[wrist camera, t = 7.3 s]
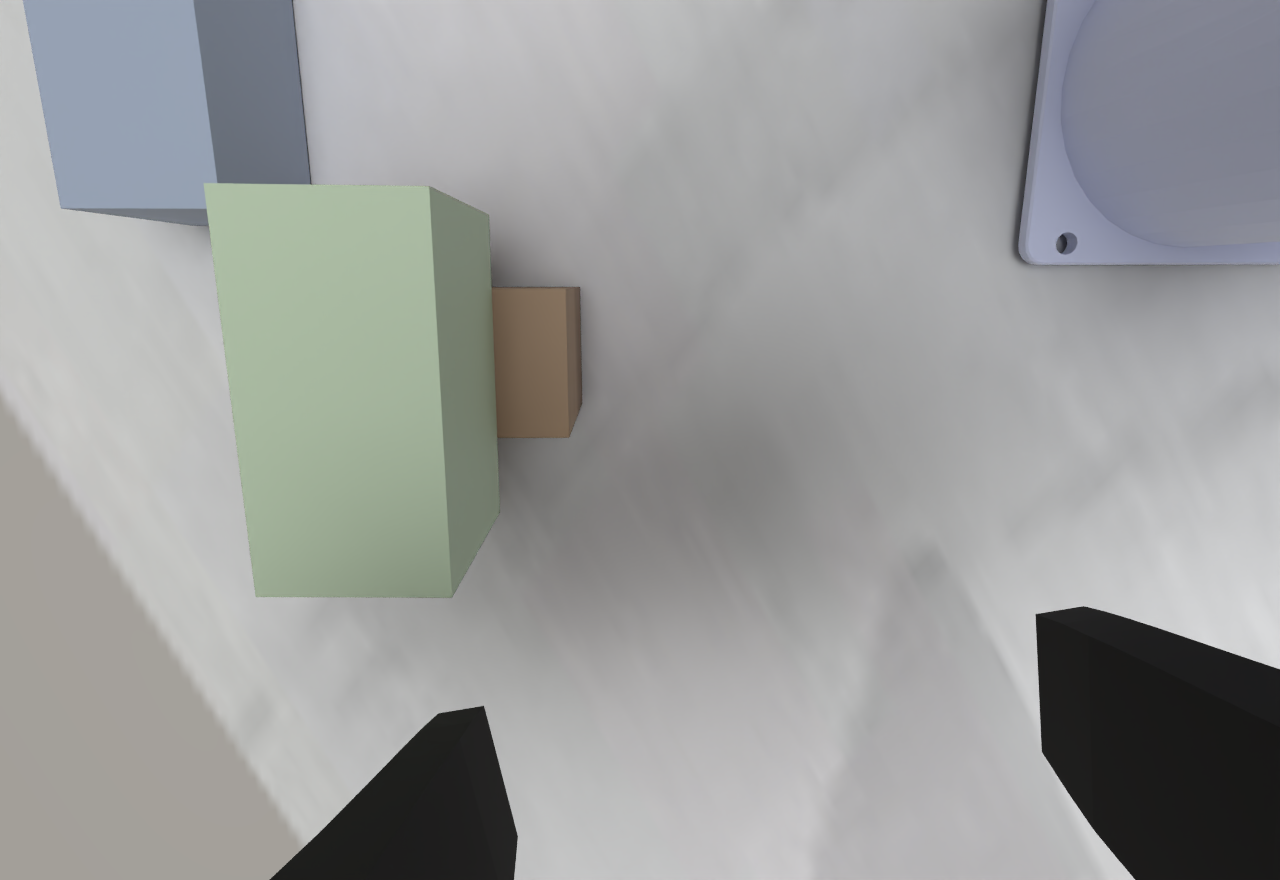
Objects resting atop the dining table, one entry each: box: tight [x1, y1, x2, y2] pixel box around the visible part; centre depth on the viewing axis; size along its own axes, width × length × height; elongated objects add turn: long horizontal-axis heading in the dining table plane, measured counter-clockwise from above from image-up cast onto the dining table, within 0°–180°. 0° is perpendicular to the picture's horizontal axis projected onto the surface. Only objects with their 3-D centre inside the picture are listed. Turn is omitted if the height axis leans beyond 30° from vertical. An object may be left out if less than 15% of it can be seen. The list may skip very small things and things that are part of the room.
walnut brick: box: [492, 287, 582, 438], centre depth 16 cm, size 6×3×4 cm, turn 90°
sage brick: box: [203, 183, 500, 598], centre depth 12 cm, size 6×3×4 cm, turn 179°
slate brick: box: [23, 0, 311, 226], centre depth 14 cm, size 6×3×4 cm, turn 0°
